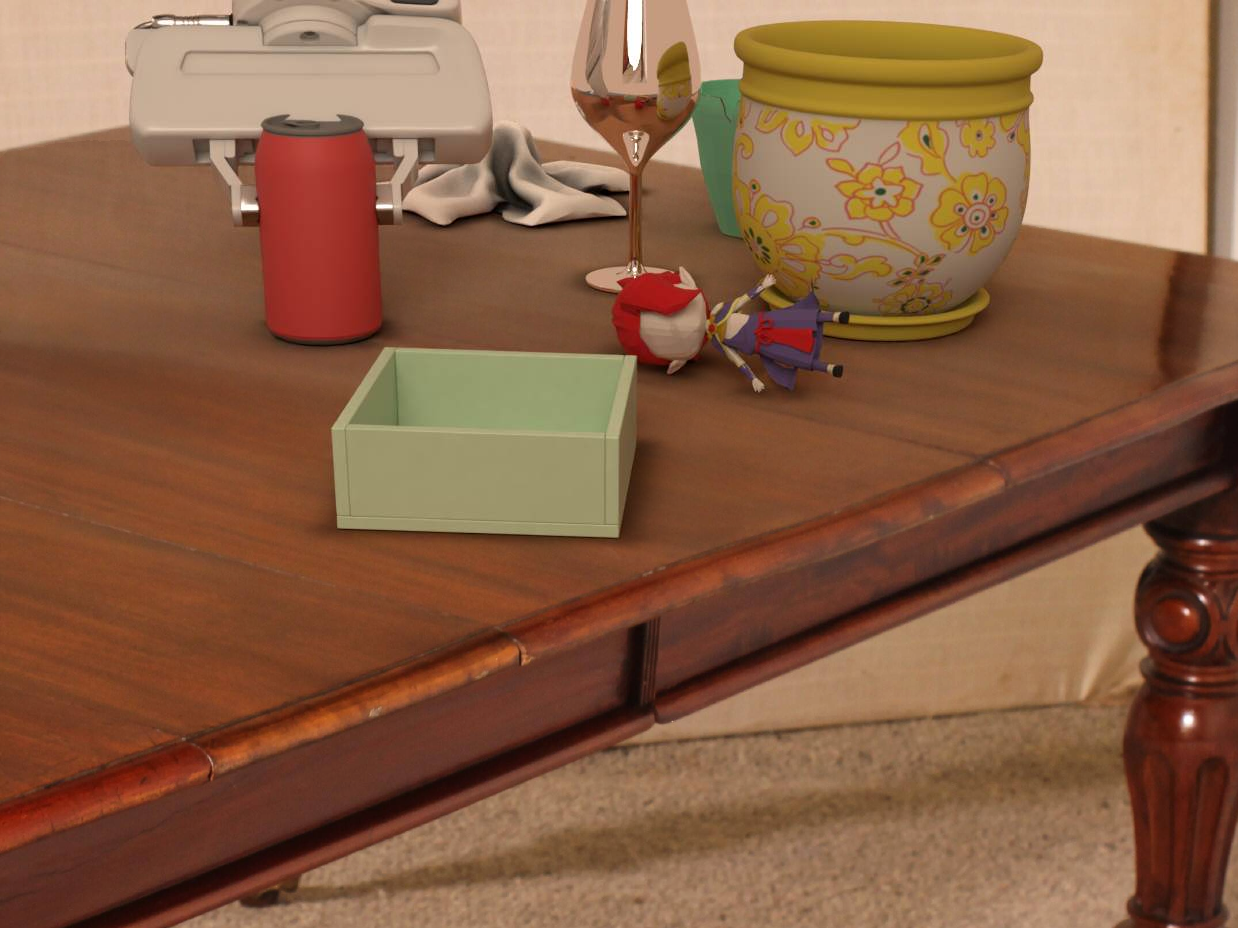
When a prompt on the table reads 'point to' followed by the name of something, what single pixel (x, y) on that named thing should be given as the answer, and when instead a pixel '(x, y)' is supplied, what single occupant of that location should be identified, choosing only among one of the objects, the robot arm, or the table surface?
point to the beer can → (318, 230)
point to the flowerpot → (882, 168)
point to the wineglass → (635, 94)
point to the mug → (718, 146)
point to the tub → (488, 443)
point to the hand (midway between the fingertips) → (319, 220)
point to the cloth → (515, 185)
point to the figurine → (719, 327)
